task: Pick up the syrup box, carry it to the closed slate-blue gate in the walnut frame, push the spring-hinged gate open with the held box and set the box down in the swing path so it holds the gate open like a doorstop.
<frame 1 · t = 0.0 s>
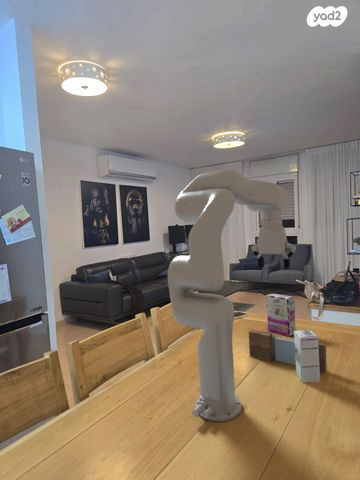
hand: (273, 268, 120), 31 cm above the table, fingers open, 9 cm apart
syrup box: (307, 378, 99), on the table
door frame: (291, 364, 108), on the table
candy bar box: (281, 332, 138), on the table
door: (290, 351, 108), point 5 cm above the table, hinge at 0.0°
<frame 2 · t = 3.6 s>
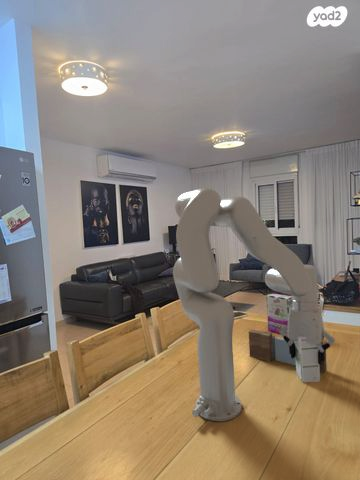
hand: (306, 359, 99), 6 cm above the table, fingers closed on syrup box, 7 cm apart
syrup box: (307, 378, 99), on the table, touching gripper
everything else where it was.
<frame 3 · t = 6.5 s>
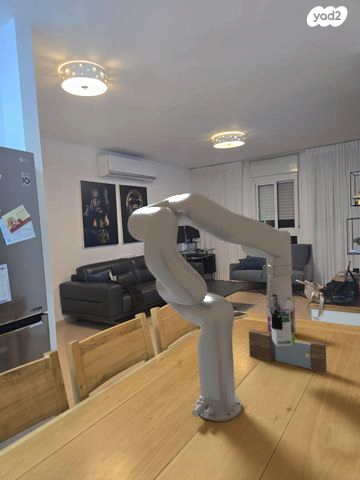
hand: (282, 324, 100), 17 cm above the table, fingers closed on syrup box, 7 cm apart
syrup box: (282, 343, 100), point 11 cm above the table, touching gripper
everything else where it was.
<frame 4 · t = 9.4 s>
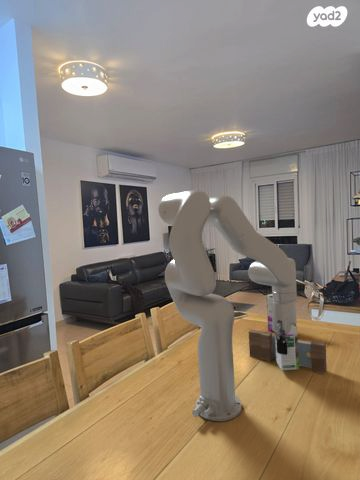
hand: (286, 348, 103), 8 cm above the table, fingers closed on syrup box, 7 cm apart
syrup box: (287, 366, 104), point 2 cm above the table, touching gripper
door: (291, 351, 108), point 5 cm above the table, hinge at 2.8°, touching gripper
everything else where it was.
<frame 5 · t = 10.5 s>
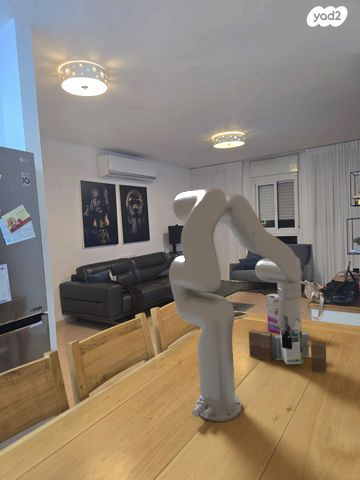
hand: (291, 343, 107), 8 cm above the table, fingers closed on syrup box, 7 cm apart
syrup box: (292, 361, 107), point 2 cm above the table, touching gripper
door: (291, 346, 112), point 5 cm above the table, hinge at 44.3°, touching gripper
everything else where it was.
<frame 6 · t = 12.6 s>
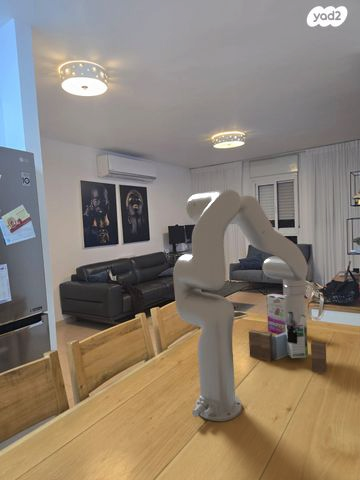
hand: (296, 338, 111), 8 cm above the table, fingers closed on syrup box, 7 cm apart
syrup box: (297, 355, 112), point 2 cm above the table, touching door, gripper
door: (286, 343, 115), point 5 cm above the table, hinge at 69.8°, touching syrup box
everything else where it was.
when the fingers open (7 cm above the table, at t = 14.3 s): syrup box stays where it is, on the table.
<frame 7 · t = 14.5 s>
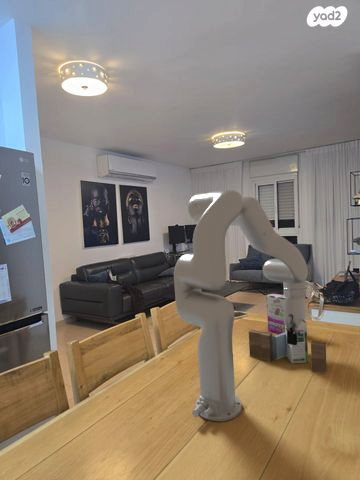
hand: (296, 339, 111), 7 cm above the table, fingers open, 9 cm apart
syrup box: (297, 360, 112), on the table
door: (286, 343, 115), point 5 cm above the table, hinge at 70.0°
everything else where it was.
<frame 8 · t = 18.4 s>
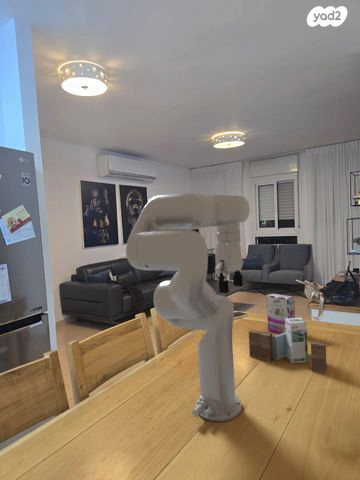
hand: (231, 289, 104), 28 cm above the table, fingers open, 9 cm apart
syrup box: (297, 360, 112), on the table, touching door
door: (286, 343, 115), point 5 cm above the table, hinge at 69.9°, touching syrup box
everything else where it was.
at the end: door at +70° (first picture: +0°); syrup box inside the target area (1.4 cm from its centre), on the table; syrup box tilted 0° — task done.
